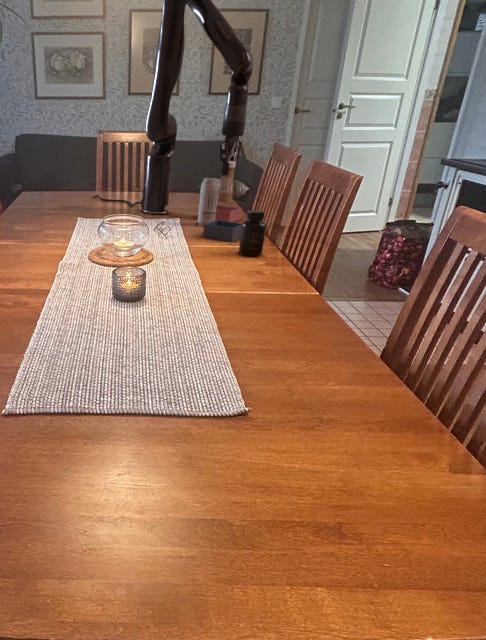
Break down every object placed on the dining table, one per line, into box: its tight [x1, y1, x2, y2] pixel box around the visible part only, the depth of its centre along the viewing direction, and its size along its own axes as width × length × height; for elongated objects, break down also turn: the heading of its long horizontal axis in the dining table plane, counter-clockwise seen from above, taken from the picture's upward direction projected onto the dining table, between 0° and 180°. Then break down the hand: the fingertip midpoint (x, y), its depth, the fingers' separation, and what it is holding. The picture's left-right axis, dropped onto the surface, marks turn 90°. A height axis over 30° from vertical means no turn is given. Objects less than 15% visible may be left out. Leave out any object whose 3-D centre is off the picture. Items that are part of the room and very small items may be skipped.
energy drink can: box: [197, 177, 220, 227], centre depth 206 cm, size 6×6×15 cm
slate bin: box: [202, 220, 243, 243], centre depth 193 cm, size 10×10×4 cm
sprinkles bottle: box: [217, 161, 237, 204], centre depth 214 cm, size 5×5×14 cm
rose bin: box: [215, 204, 242, 222], centre depth 220 cm, size 10×10×4 cm
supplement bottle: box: [238, 209, 267, 258], centre depth 172 cm, size 7×7×12 cm
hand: (227, 174), depth 212 cm, fingers closed on sprinkles bottle, 4 cm apart
